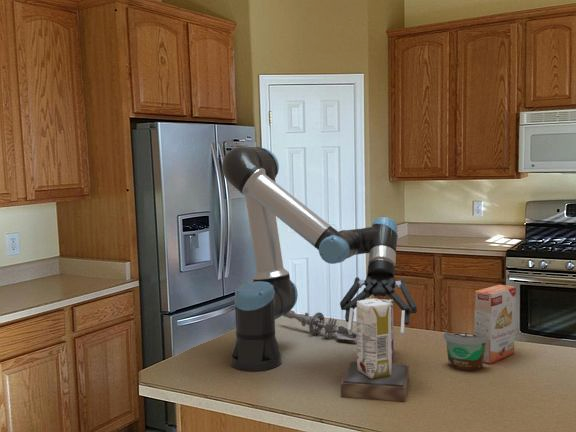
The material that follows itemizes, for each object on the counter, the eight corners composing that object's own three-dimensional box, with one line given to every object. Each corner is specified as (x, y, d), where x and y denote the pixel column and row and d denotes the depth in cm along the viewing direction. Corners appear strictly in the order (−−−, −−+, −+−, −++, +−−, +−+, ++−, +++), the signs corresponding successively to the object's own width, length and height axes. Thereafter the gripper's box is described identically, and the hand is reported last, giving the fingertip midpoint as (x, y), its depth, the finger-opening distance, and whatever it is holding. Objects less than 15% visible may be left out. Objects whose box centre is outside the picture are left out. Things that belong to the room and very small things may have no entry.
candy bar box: (378, 350, 191) (377, 298, 189) (394, 350, 190) (393, 299, 188) (375, 361, 180) (375, 307, 179) (393, 362, 179) (392, 307, 178)
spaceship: (289, 302, 224) (276, 297, 218) (367, 328, 201) (354, 324, 195) (283, 322, 223) (269, 319, 217) (360, 351, 200) (347, 348, 194)
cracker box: (491, 365, 175) (492, 293, 173) (472, 360, 180) (473, 290, 178) (516, 354, 184) (516, 286, 182) (497, 349, 189) (498, 283, 187)
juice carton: (370, 380, 154) (369, 307, 152) (353, 370, 162) (352, 300, 160) (395, 375, 157) (395, 303, 155) (378, 365, 165) (377, 296, 163)
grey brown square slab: (341, 396, 154) (340, 381, 154) (350, 374, 170) (350, 360, 169) (405, 401, 150) (405, 385, 150) (408, 378, 166) (408, 364, 165)
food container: (441, 370, 172) (441, 335, 171) (443, 363, 178) (443, 329, 177) (487, 374, 168) (487, 339, 167) (487, 367, 173) (488, 332, 172)
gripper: (427, 274, 170) (425, 343, 157) (339, 272, 176) (330, 337, 163) (426, 259, 164) (424, 328, 151) (335, 257, 171) (326, 323, 158)
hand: (375, 333), depth 157 cm, fingers open, 13 cm apart
